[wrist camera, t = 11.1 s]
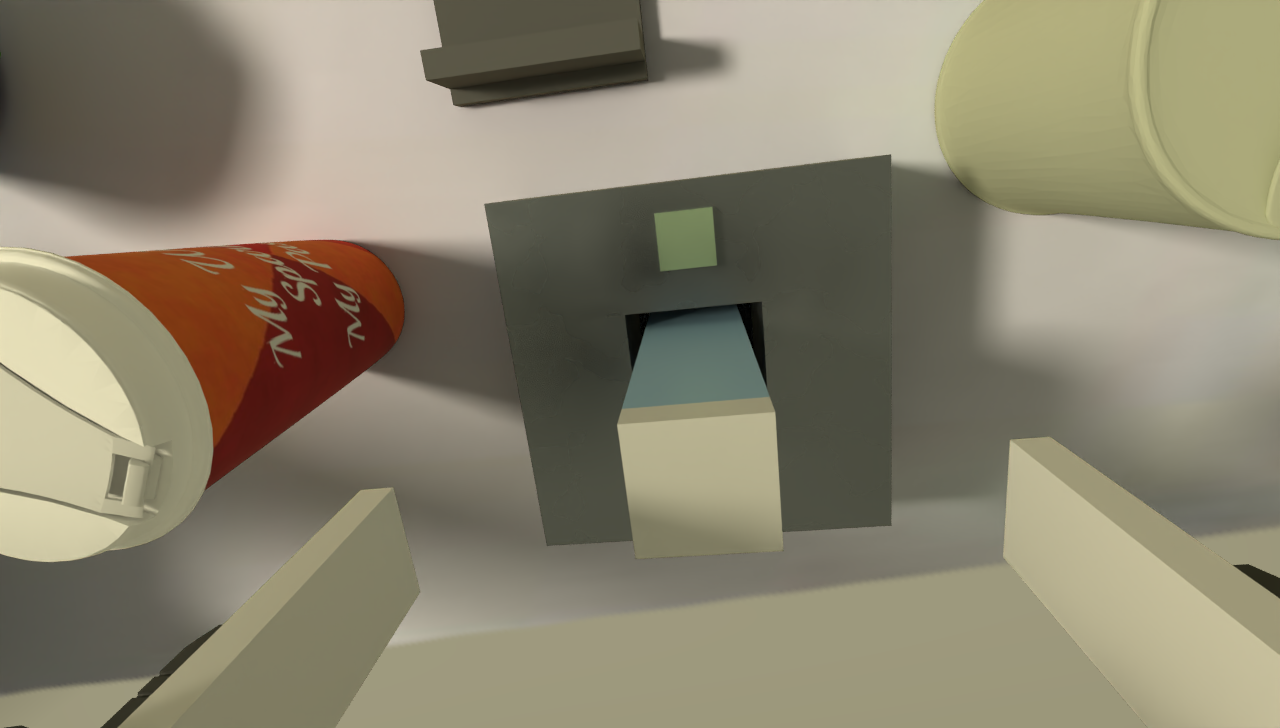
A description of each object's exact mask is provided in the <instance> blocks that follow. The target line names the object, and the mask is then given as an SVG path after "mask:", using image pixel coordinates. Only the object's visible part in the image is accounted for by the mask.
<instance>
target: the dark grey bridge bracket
mask: <svg viewBox="0 0 1280 728" xmlns="http://www.w3.org/2000/svg"><path fill="white" fill-rule="evenodd" d="M434 5H435V11H436V16H437V21H438V27H439V32H440V37H441V42H442V47H441V48H434V49H427V50H421V51H420V52H421V57H422V62H423V67H424V72H425V77H426V80H427V81H429V82H432V83H435V84H438V85H440V86H443V87H446V88H449V89H450V90H451V95H452V101H453V105H455V106H466V105H473V104H480V103H487V102H494V101H502V100H509V99H516V98H523V97H530V96H537V95H544V94H551V93H559V92H566V91H573V90H580V89H587V88H594V87H601V86H608V85H616V84H623V83H630V82H637V81H644V80H648V76H647V66H646V56H645V47H644V37H643V27H642V18H641V8H640V0H434Z"/></svg>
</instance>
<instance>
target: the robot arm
mask: <svg viewBox="0 0 1280 728" xmlns="http://www.w3.org/2000/svg"><path fill="white" fill-rule="evenodd" d="M1003 558H1004V559H1005V560H1006V561H1007V562H1008V563H1009V565H1010V566H1011V567H1012V568H1013V569H1014V571H1015V572H1016V573H1017V574H1018V575H1019V576H1020V578H1021V579H1022V580H1023V581H1024V582H1025V584H1026V585H1027V586H1028V587H1029V588H1030V589H1031V591H1032V592H1033V593H1034V594H1035V595H1036V597H1037V598H1038V599H1039V600H1040V601H1041V602H1042V604H1043V605H1044V606H1045V607H1046V608H1047V609H1048V611H1049V612H1050V613H1051V614H1052V615H1053V617H1054V618H1055V619H1056V620H1057V621H1058V622H1059V624H1060V625H1061V626H1062V627H1063V628H1064V630H1065V631H1066V632H1067V633H1068V634H1069V635H1070V637H1071V638H1072V639H1073V640H1074V641H1075V643H1076V644H1077V645H1078V646H1079V647H1080V649H1081V650H1082V651H1083V652H1084V653H1085V654H1086V656H1087V657H1088V658H1089V659H1090V660H1091V661H1092V663H1093V664H1094V665H1095V666H1096V667H1097V669H1098V670H1099V671H1100V672H1101V673H1102V675H1103V676H1104V677H1105V678H1106V679H1107V680H1108V682H1110V684H1111V685H1112V686H1113V687H1114V689H1115V690H1116V691H1117V692H1118V693H1119V695H1120V696H1121V697H1122V698H1123V699H1124V700H1125V702H1126V703H1127V704H1128V705H1129V706H1130V708H1131V709H1132V710H1133V711H1134V712H1135V713H1136V715H1137V716H1138V717H1139V718H1140V719H1141V721H1142V722H1143V723H1144V724H1145V725H1146V726H1147V728H1280V578H1278V577H1276V576H1274V575H1271V574H1269V573H1267V572H1265V571H1262V570H1260V569H1258V568H1256V567H1253V566H1251V565H1249V564H1246V565H1231V564H1230V563H1228V562H1227V561H1225V560H1224V559H1223V558H1221V557H1220V556H1218V555H1217V554H1216V553H1214V552H1213V551H1211V550H1210V549H1209V548H1207V547H1206V546H1204V545H1203V544H1202V543H1200V542H1199V541H1197V540H1196V539H1194V538H1193V537H1192V536H1190V535H1189V534H1187V533H1186V532H1184V531H1183V530H1182V529H1180V528H1179V527H1177V526H1176V525H1175V524H1173V523H1172V522H1170V521H1169V520H1167V519H1166V518H1165V517H1163V516H1162V515H1160V514H1159V513H1158V512H1156V511H1155V510H1153V509H1152V508H1150V507H1149V506H1148V505H1146V504H1145V503H1143V502H1142V501H1140V500H1139V499H1138V498H1136V497H1135V496H1133V495H1132V494H1131V493H1129V492H1128V491H1126V490H1125V489H1123V488H1122V487H1121V486H1119V485H1118V484H1116V483H1115V482H1114V481H1112V480H1111V479H1109V478H1108V477H1106V476H1105V475H1104V474H1102V473H1101V472H1099V471H1098V470H1097V469H1095V468H1094V467H1092V466H1091V465H1089V464H1088V463H1087V462H1085V461H1084V460H1082V459H1081V458H1079V457H1078V456H1077V455H1075V454H1074V453H1072V452H1071V451H1070V450H1068V449H1067V448H1065V447H1064V446H1062V445H1061V444H1060V443H1058V442H1057V441H1055V440H1054V439H1053V438H1051V437H1039V438H1026V439H1013V440H1010V450H1009V466H1008V483H1007V500H1006V517H1005V533H1004V550H1003ZM419 593H420V589H419V585H418V581H417V577H416V573H415V569H414V566H413V562H412V558H411V554H410V550H409V546H408V542H407V538H406V535H405V531H404V527H403V523H402V519H401V515H400V511H399V507H398V503H397V500H396V496H395V492H394V488H393V487H392V488H380V489H367V490H360V491H359V492H358V493H357V494H356V495H355V496H354V497H353V498H352V499H351V500H350V501H349V502H348V503H347V504H346V505H345V506H344V507H343V508H342V509H341V510H340V511H339V512H338V513H337V514H336V515H335V516H334V517H333V518H332V519H331V520H330V521H329V522H328V523H327V524H325V525H324V526H323V527H322V528H321V529H320V530H319V531H318V532H317V533H316V534H315V535H314V536H313V537H312V538H311V539H310V540H309V541H308V542H307V543H306V544H305V545H304V546H303V547H302V548H301V549H300V550H299V551H298V552H297V553H296V554H295V555H294V556H293V557H292V558H291V559H290V560H289V561H288V562H287V563H286V564H285V565H284V566H282V567H281V568H280V569H279V570H278V571H277V572H276V573H275V574H274V575H273V576H272V577H271V578H270V579H269V580H268V581H267V582H266V583H265V584H264V585H263V586H262V587H261V588H260V589H259V590H258V591H257V592H256V593H255V594H254V595H253V596H252V597H251V598H250V599H249V600H248V601H247V602H246V603H245V604H244V605H243V606H242V607H241V608H240V609H238V610H237V611H236V612H235V613H234V614H233V615H232V616H231V617H230V618H229V619H228V620H227V621H226V622H225V623H224V624H223V625H218V626H217V627H215V628H214V629H212V630H211V631H209V632H208V633H206V634H205V635H203V636H202V637H200V638H199V639H197V640H196V641H194V642H193V643H191V644H190V645H188V646H187V647H185V648H184V649H183V650H182V651H181V652H180V653H179V654H178V655H177V656H176V657H175V658H174V659H173V660H172V661H171V662H170V663H169V664H168V665H166V666H165V667H164V668H163V669H162V670H161V671H160V675H159V676H158V677H154V678H153V679H152V680H151V681H150V682H149V683H148V684H146V686H144V687H143V688H142V689H141V690H140V691H139V692H138V696H137V698H132V699H131V700H130V701H129V702H127V703H126V704H125V705H124V706H123V707H122V708H121V709H120V710H119V711H118V712H117V713H116V714H115V715H114V716H113V717H112V718H111V719H110V720H109V721H107V723H105V724H104V725H103V726H102V727H101V728H335V727H336V725H337V724H338V722H339V721H340V718H341V717H342V715H343V714H344V712H345V711H346V709H347V708H348V706H349V705H350V703H351V701H352V700H353V698H354V697H355V695H356V693H357V692H358V690H359V688H360V687H361V685H362V684H363V682H364V681H365V679H366V678H367V676H368V674H369V673H370V671H371V670H372V668H373V666H374V665H375V663H376V662H377V660H378V658H379V657H380V655H381V654H382V652H383V651H384V649H385V647H386V646H387V644H388V643H389V641H390V639H391V638H392V636H393V635H394V633H395V631H396V630H397V628H398V627H399V625H400V623H401V622H402V620H403V619H404V617H405V616H406V614H407V612H408V611H409V609H410V608H411V606H412V604H413V603H414V601H415V600H416V598H417V596H418V595H419ZM6 728H27V727H24V726H14V727H6Z"/></svg>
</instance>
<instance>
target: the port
mask: <svg viewBox="0 0 1280 728" xmlns="http://www.w3.org/2000/svg"><path fill="white" fill-rule="evenodd" d="M484 205H485V211H486V216H487V222H488V227H489V233H490V238H491V243H492V249H493V254H494V260H495V265H496V271H497V276H498V282H499V287H500V292H501V298H502V303H503V309H504V314H505V320H506V325H507V331H508V336H509V342H510V347H511V352H512V358H513V363H514V369H515V374H516V380H517V385H518V391H519V396H520V402H521V407H522V412H523V418H524V423H525V429H526V434H527V440H528V445H529V451H530V456H531V462H532V467H533V472H534V478H535V483H536V489H537V494H538V500H539V505H540V511H541V516H542V522H543V527H544V532H545V538H546V543H547V546H549V545H567V544H584V543H601V542H618V541H633V537H632V529H631V522H630V515H629V507H628V500H627V493H626V486H625V478H624V471H623V464H622V456H621V449H620V442H619V435H618V427H617V423H618V420H619V417H620V413H621V410H622V406H623V403H624V400H625V396H626V393H627V389H628V386H629V383H630V379H631V376H632V372H633V369H634V366H635V362H636V359H637V355H638V352H639V349H640V345H641V342H642V336H641V328H640V319H639V314H640V313H650V312H660V311H670V310H680V309H690V308H700V307H710V306H721V305H731V304H741V303H751V315H752V330H753V345H754V355H755V357H756V360H757V363H758V366H759V369H760V371H761V374H762V377H763V380H764V382H765V385H766V388H767V391H768V393H769V396H770V399H771V402H772V404H773V407H774V410H775V416H776V434H777V451H778V468H779V485H780V502H781V520H782V532H789V531H806V530H823V529H841V528H858V527H875V526H891V155H882V156H873V157H864V158H855V159H846V160H838V161H830V162H822V163H813V164H805V165H797V166H789V167H781V168H772V169H764V170H756V171H748V172H740V173H731V174H723V175H715V176H707V177H698V178H690V179H682V180H674V181H666V182H657V183H649V184H641V185H633V186H625V187H616V188H608V189H600V190H592V191H583V192H575V193H567V194H559V195H551V196H542V197H534V198H526V199H518V200H511V201H503V202H496V203H488V204H484Z"/></svg>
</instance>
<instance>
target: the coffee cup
mask: <svg viewBox="0 0 1280 728" xmlns="http://www.w3.org/2000/svg"><path fill="white" fill-rule="evenodd" d="M404 313H405V311H404V301H403V296H402V293H401V290H400V287H399V285H398V283H397V281H396V279H395V277H394V276H393V274H392V272H391V271H390V270H389V268H388V267H387V266H386V265H385V264H384V263H383V262H382V261H381V260H380V259H379V258H378V257H377V256H375V255H374V254H373V253H371V252H370V251H368V250H366V249H365V248H363V247H361V246H358V245H356V244H353V243H349V242H345V241H338V240H305V241H287V242H270V243H255V244H240V245H225V246H210V247H196V248H182V249H168V250H154V251H140V252H126V253H112V254H98V255H83V256H69V257H62V256H59V255H56V254H54V253H50V252H45V251H40V250H34V249H29V248H16V247H0V554H3V555H6V556H9V557H14V558H19V559H24V560H29V561H41V562H59V561H71V560H79V559H82V558H86V557H90V556H94V555H98V554H101V553H103V552H105V551H108V550H119V549H127V548H131V547H135V546H139V545H142V544H146V543H148V542H151V541H153V540H155V539H157V538H159V537H162V536H164V535H165V534H167V533H168V532H169V531H171V530H172V529H174V528H175V527H176V526H178V525H179V524H180V523H182V522H183V520H184V519H185V518H186V517H187V516H188V515H189V514H190V513H191V512H192V511H193V509H194V508H195V506H196V505H197V503H198V501H199V500H200V498H201V496H202V494H203V493H204V490H206V489H207V488H209V487H210V486H211V485H213V484H214V483H215V482H217V481H218V480H219V479H221V478H222V477H223V476H225V475H226V474H227V473H229V472H230V471H231V470H233V469H234V468H236V467H237V466H238V465H240V464H241V463H242V462H244V461H245V460H246V459H248V458H249V457H250V456H252V455H253V454H254V453H256V452H257V451H258V450H260V449H261V448H263V447H264V446H265V445H267V444H268V443H269V442H271V441H272V440H273V439H275V438H276V437H277V436H279V435H280V434H281V433H283V432H284V431H286V430H287V429H288V428H290V427H291V426H292V425H294V424H295V423H296V422H298V421H299V420H300V419H302V418H303V417H304V416H306V415H307V414H308V413H310V412H311V411H312V410H314V409H315V408H316V407H318V406H319V405H321V404H322V403H323V402H325V401H326V400H327V399H329V398H330V397H331V396H333V395H334V394H335V393H337V392H338V391H339V390H341V389H342V388H343V387H345V386H346V385H347V384H349V383H350V382H351V381H352V380H354V379H355V378H356V377H358V376H359V375H360V374H362V373H363V372H364V371H366V370H367V369H368V368H369V367H371V366H372V365H373V364H374V363H376V362H377V361H378V360H379V359H381V358H382V357H383V356H384V355H385V354H386V353H387V352H388V351H389V350H390V349H391V348H392V347H393V345H394V344H395V343H396V341H397V339H398V338H399V336H400V333H401V331H402V327H403V323H404Z"/></svg>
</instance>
